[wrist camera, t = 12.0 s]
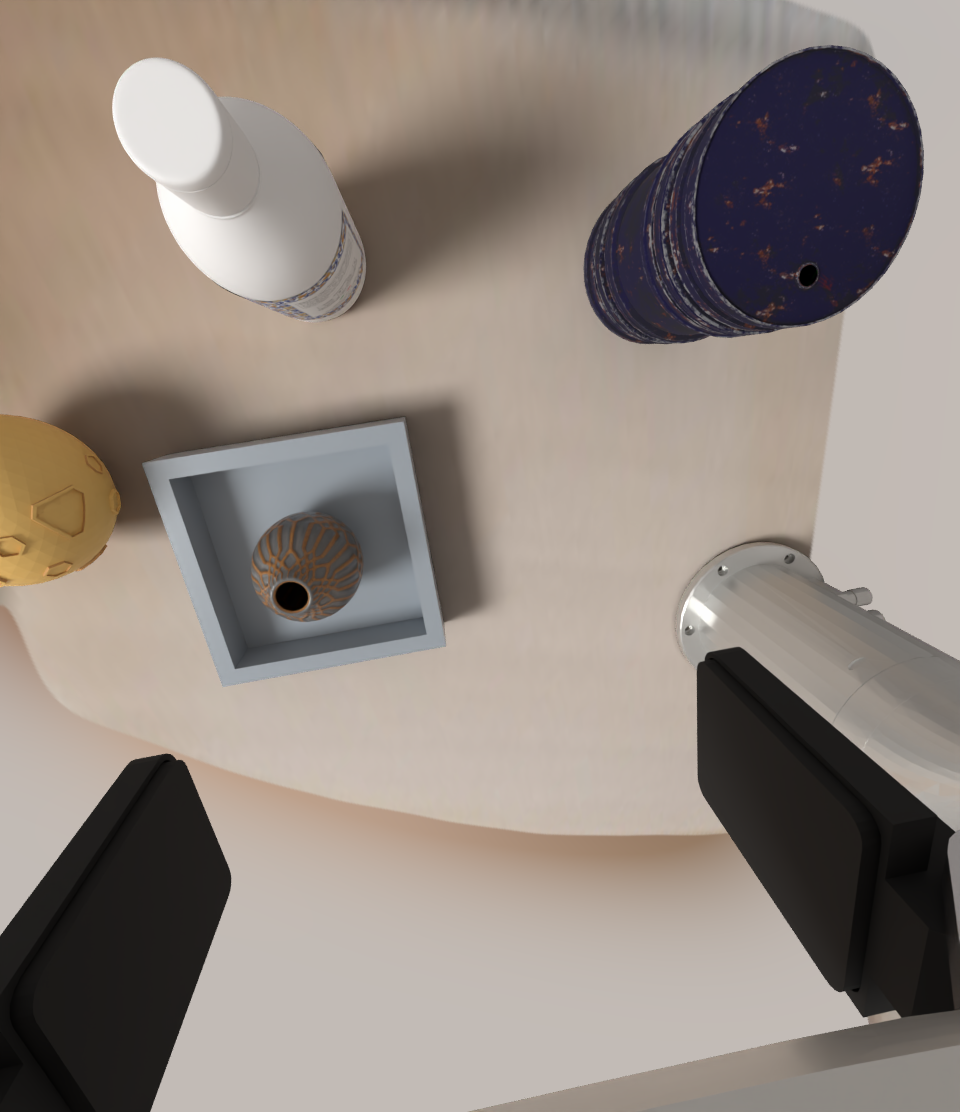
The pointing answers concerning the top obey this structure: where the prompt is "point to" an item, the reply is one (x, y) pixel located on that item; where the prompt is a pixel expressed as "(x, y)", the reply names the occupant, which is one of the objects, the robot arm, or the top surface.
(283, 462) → the bin
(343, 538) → the vase
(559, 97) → the top surface
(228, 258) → the bath foam
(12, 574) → the stress ball
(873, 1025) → the robot arm
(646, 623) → the top surface
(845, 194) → the storage jar
